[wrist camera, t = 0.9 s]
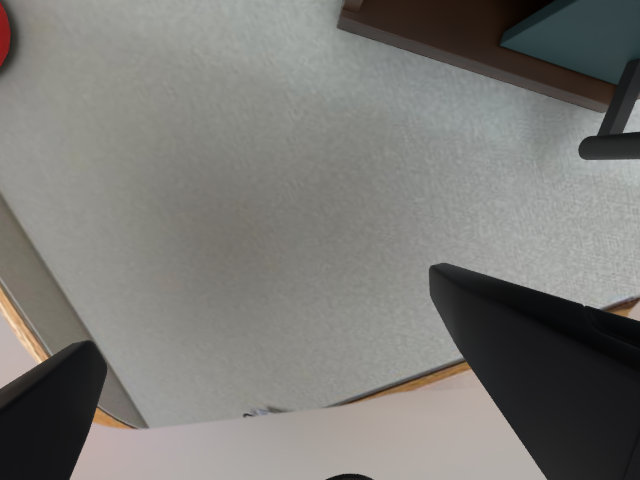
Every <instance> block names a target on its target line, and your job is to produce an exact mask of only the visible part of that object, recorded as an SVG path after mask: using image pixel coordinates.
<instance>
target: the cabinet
mask: <svg viewBox="0 0 640 480" xmlns="http://www.w3.org/2000/svg"><path fill="white" fill-rule="evenodd" d="M553 1H555V0H343V2H342V6H341V11H340V15H339V19H338V23H337V28H339V29H343V30H346V31H349V32H352V33H355V34H358V35H361V36H364V37H367V38H371V39H374V40H377V41H380V42H383V43H386V44H389V45H392V46H395V47H399V48H402V49H405V50H408V51H411V52H414V53H417V54H420V55H423V56H427V57H430V58H433V59H436V60H439V61H442V62H445V63H448V64H451V65H455V66H458V67H461V68H464V69H467V70H470V71H473V72H476V73H479V74H482V75H486V76H489V77H492V78H495V79H498V80H501V81H504V82H507V83H510V84H514V85H517V86H520V87H523V88H526V89H529V90H532V91H535V92H538V93H542V94H545V95H548V96H551V97H554V98H557V99H560V100H563V101H566V102H570V103H573V104H576V105H579V106H582V107H585V108H588V109H591V110H594V111H598V112H601V113H604V112H607V110H608V107H609V105H610V102H611V100H612V97H613V95H614V93H615V90H616V88H617V85H618V84H617V85H615V84H612V83H610V82H607V81H604V80H601V79H598V78H595V77H592V76H589V75H586V74H583V73H580V72H577V71H574V70H571V69H568V68H565V67H562V66H559V65H556V64H553V63H550V62H547V61H544V60H541V59H538V58H536V57H533V56H530V55H527V54H524V53H521V52H518V51H515V50H512V49H509V48H506V47H503V46H500V42H501V39H502V36H503V33H504V32H505V31H507V30H508V29H510V28H511V27H513V26H515V25H516V24H518V23H519V22H521V21H523V20H524V19H526V18H528V17H529V16H531V15H532V14H534V13H536V12H537V11H539V10H540V9H542V8H544V7H545V6H547V5H548V4H550V3H552V2H553ZM638 99H640V93H639V95H638V97H637V100H638Z"/></svg>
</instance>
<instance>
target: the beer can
mask: <svg viewBox="0 0 640 480" xmlns="http://www.w3.org/2000/svg"><path fill="white" fill-rule="evenodd" d="M10 37H11V32H10V27H9V22H8V17H7V14H6V12H5V10H4V8H3V6H2V4H1V2H0V66H1V65H2V64H3V62H4V60H5V58H6V56H7V54H8V52H9V46H10Z"/></svg>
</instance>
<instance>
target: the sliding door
mask: <svg viewBox="0 0 640 480" xmlns="http://www.w3.org/2000/svg"><path fill="white" fill-rule="evenodd" d="M500 46H503V47H506V48H509V49H512V50H515V51H518V52H521V53H524V54H527V55H530V56H533V57H536V58H538V59H541V60H544V61H547V62H550V63H553V64H556V65H559V66H562V67H565V68H568V69H571V70H574V71H577V72H580V73H583V74H586V75H589V76H592V77H595V78H598V79H601V80H604V81H607V82H610V83H612V84H615V85H617V84H618V85H617V88H616V90H615V93H614V95H613V97H612V100H611V102H610V105H609V107H608V110H607V112H606V115H605V117H604V119H603V122H602V124H601V127H600V129H599V132H598V134H597V136H589V137H587V138H585V139H584V140H583V141H582V142H581V143H580V145H579V149H578V151H579V155H580V157H581V158H583V159H585V160H621V159H640V132H631V133H623V130H624V128H625V126H626V123H627V121H628V119H629V116H630V114H631V111H632V109H633V107H634V104H635V102H636V100H637V97H638V95H639V93H640V0H555V1H553V2H552V3H550V4H548V5H547V6H545V7H544V8H542V9H540V10H539V11H537V12H536V13H534V14H532V15H531V16H529V17H528V18H526V19H524V20H523V21H521V22H519V23H518V24H516V25H515V26H513V27H511V28H510V29H508V30H507V31H505V32H504V33H503V36H502V39H501V42H500Z"/></svg>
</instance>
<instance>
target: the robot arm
mask: <svg viewBox="0 0 640 480" xmlns="http://www.w3.org/2000/svg"><path fill="white" fill-rule="evenodd" d="M429 286H430V296H431V299H432V301H433V303H434V305H435V307H436V309H437V311H438V312H439V314H440V316H441V318H442V320H443V322H444V324H445V326H446V328H447V330H448V331H449V333H450V335H451V337H452V339H453V341H454V343H455V344H456V346H457V348H458V349H459V351H460V352H461V354H462V355H463V357H464V358H465V360H466V361H467V363H468V364H469V366H470V367H471V369H472V370H473V372H474V373H475V374H476V376H477V377H478V379H479V380H480V382H481V383H482V385H483V386H484V388H485V389H486V391H487V392H488V393H489V395H490V396H491V398H492V399H493V401H494V402H495V404H496V405H497V407H498V408H499V410H500V411H501V412H502V414H503V415H504V417H505V418H506V420H507V421H508V423H509V424H510V426H511V427H512V429H513V430H514V431H515V433H516V434H517V436H518V437H519V439H520V440H521V442H522V443H523V445H524V446H525V448H526V449H527V450H528V452H529V453H530V455H531V456H532V458H533V459H534V461H535V462H536V464H537V465H538V467H539V468H540V470H541V471H542V473H543V474H544V475H545V477H546V478H547V480H640V321H637V320H634V319H630V318H627V317H623V316H620V315H617V314H613V313H610V312H606V311H603V310H600V309H596V308H593V307H590V306H585V307H584V306H583V305H582V304H580V303H576V302H573V301H570V300H566V299H563V298H560V297H557V296H553V295H550V294H547V293H543V292H540V291H537V290H533V289H530V288H527V287H524V286H520V285H517V284H514V283H510V282H507V281H504V280H500V279H497V278H494V277H491V276H487V275H484V274H481V273H477V272H474V271H471V270H467V269H464V268H461V267H458V266H454V265H451V264H448V263H440V264H436V265H432V266H431V267H430V268H429ZM106 375H107V364H106V362H105V360H104V358H103V356H102V355H101V353H100V351H99V350H98V348H97V346H96V344H95V343H94V342H93V341H90V340H86V341H81V342H77V343H73V344H71V345H69V346H68V347H66V348H64V349H63V350H61V351H60V352H58V353H57V354H55V355H53V356H52V357H50V358H49V359H47V360H45V361H44V362H42V363H41V364H39V365H37V366H36V367H34V368H33V369H31V370H30V371H28V372H26V373H25V374H23V375H22V376H20V377H18V378H17V379H15V380H14V381H12V382H10V383H9V384H7V385H6V386H4V387H3V388H1V389H0V480H70V477H71V475H72V472H73V470H74V467H75V465H76V463H77V460H78V458H79V455H80V453H81V450H82V448H83V445H84V443H85V441H86V438H87V435H88V433H89V430H90V427H91V424H92V421H93V418H94V414H95V411H96V408H97V404H98V401H99V398H100V395H101V391H102V388H103V385H104V381H105V378H106Z"/></svg>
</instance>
